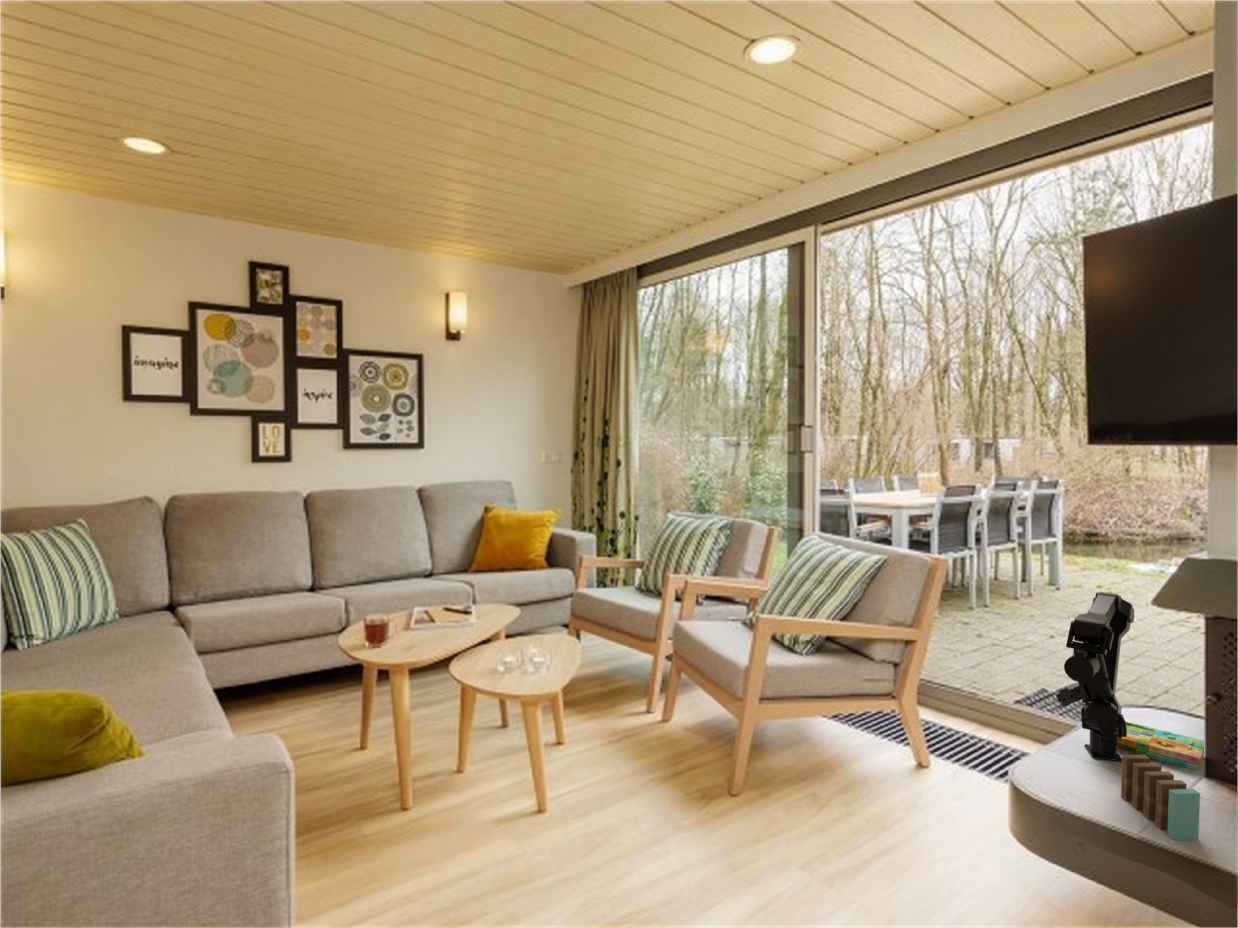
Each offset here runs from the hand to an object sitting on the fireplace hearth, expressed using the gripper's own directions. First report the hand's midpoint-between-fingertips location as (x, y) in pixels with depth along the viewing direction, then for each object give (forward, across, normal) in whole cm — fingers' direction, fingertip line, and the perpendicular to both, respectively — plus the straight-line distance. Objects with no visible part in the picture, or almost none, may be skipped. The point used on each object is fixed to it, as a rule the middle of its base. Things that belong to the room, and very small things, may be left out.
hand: (1108, 741), depth 159 cm
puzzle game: (+11, -28, +8) cm, 32 cm away
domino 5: (+16, +12, +9) cm, 22 cm away
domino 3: (+14, +6, +6) cm, 16 cm away
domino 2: (+14, +3, +4) cm, 14 cm away
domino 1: (+13, 0, +2) cm, 13 cm away
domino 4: (+15, +9, +7) cm, 19 cm away
